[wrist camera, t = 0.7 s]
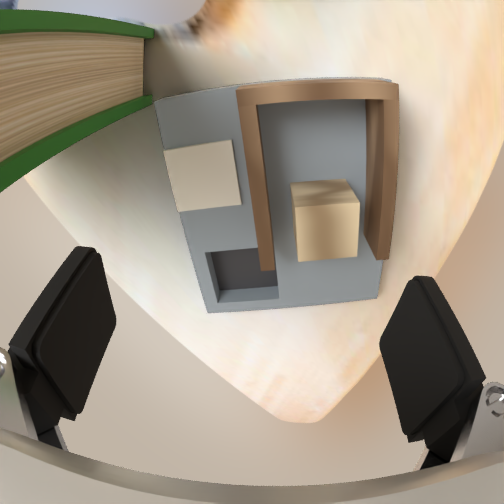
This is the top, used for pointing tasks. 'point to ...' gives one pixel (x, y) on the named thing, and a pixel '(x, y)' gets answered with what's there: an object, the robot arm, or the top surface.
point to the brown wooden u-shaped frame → (377, 151)
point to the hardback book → (63, 82)
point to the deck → (278, 181)
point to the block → (325, 219)
